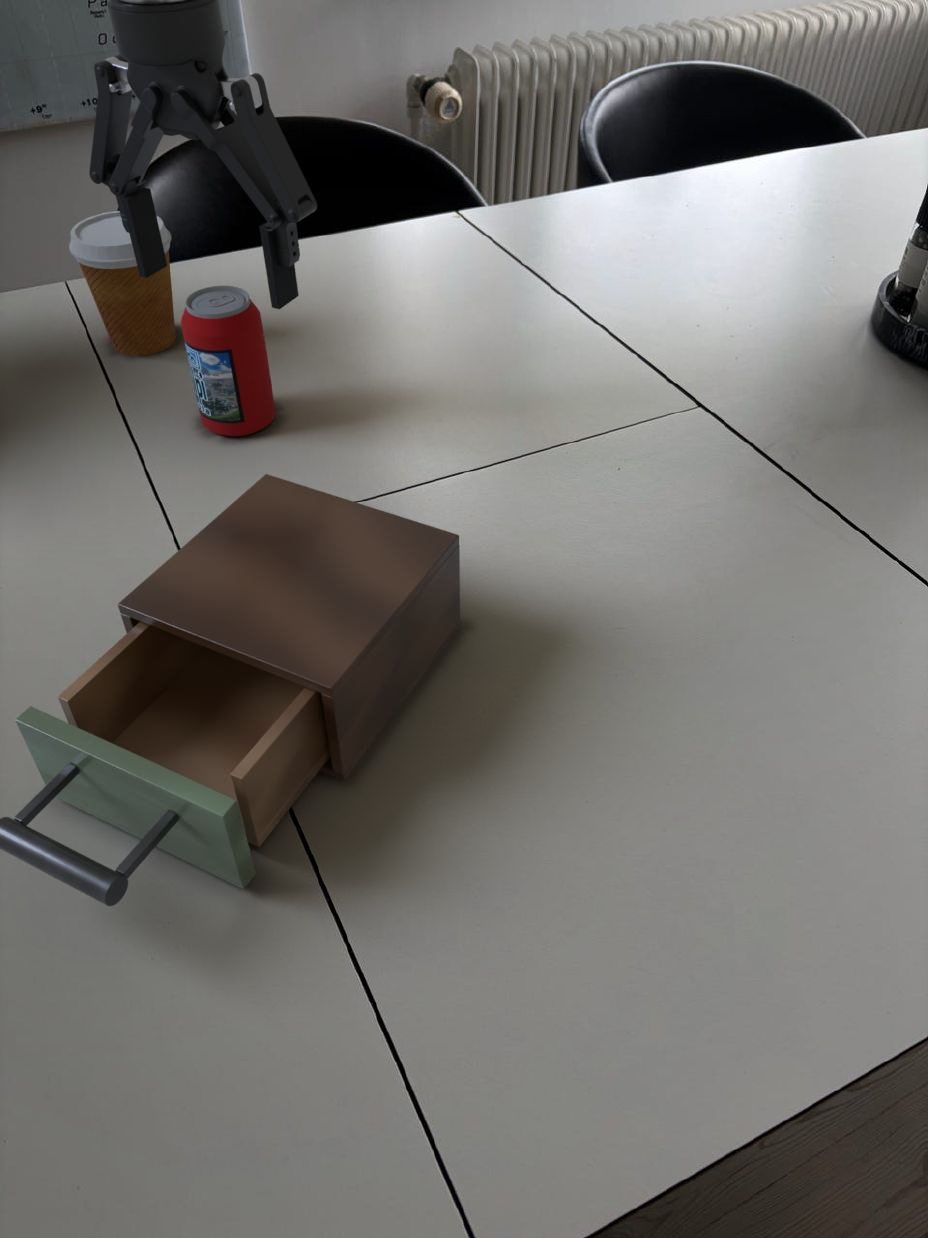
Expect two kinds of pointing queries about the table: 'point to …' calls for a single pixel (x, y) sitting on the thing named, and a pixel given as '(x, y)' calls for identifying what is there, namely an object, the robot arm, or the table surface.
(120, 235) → the disposable coffee cup
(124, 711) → the drawer
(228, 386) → the beverage can
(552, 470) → the table surface
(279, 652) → the cabinet
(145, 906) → the table surface
